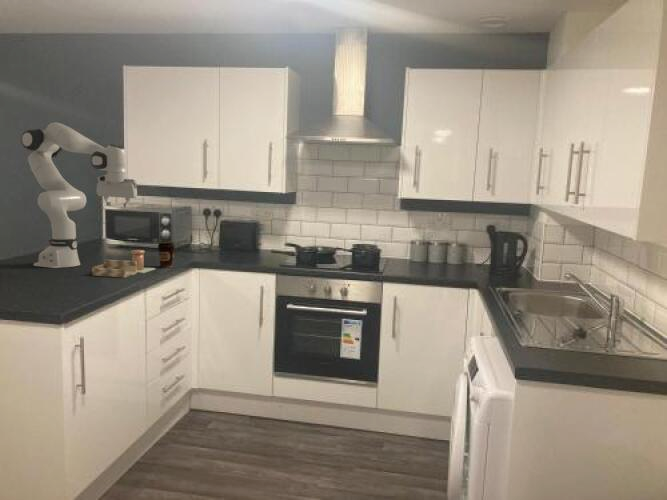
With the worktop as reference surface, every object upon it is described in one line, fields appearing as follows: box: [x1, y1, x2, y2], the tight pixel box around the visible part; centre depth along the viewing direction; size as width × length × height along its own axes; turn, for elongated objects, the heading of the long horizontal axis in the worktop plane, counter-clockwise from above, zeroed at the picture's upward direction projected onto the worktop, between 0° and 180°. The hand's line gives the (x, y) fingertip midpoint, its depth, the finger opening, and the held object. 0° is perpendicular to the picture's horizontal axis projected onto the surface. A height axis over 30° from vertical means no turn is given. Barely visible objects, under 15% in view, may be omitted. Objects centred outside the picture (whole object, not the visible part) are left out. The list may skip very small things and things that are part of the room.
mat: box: [137, 267, 156, 274], centre depth 291 cm, size 12×12×1 cm
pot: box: [130, 249, 145, 270], centre depth 290 cm, size 6×6×10 cm
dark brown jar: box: [157, 241, 176, 268], centre depth 302 cm, size 9×8×13 cm
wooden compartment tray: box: [91, 258, 138, 278], centre depth 279 cm, size 17×11×6 cm, turn 79°
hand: (117, 206), depth 285 cm, fingers open, 8 cm apart
